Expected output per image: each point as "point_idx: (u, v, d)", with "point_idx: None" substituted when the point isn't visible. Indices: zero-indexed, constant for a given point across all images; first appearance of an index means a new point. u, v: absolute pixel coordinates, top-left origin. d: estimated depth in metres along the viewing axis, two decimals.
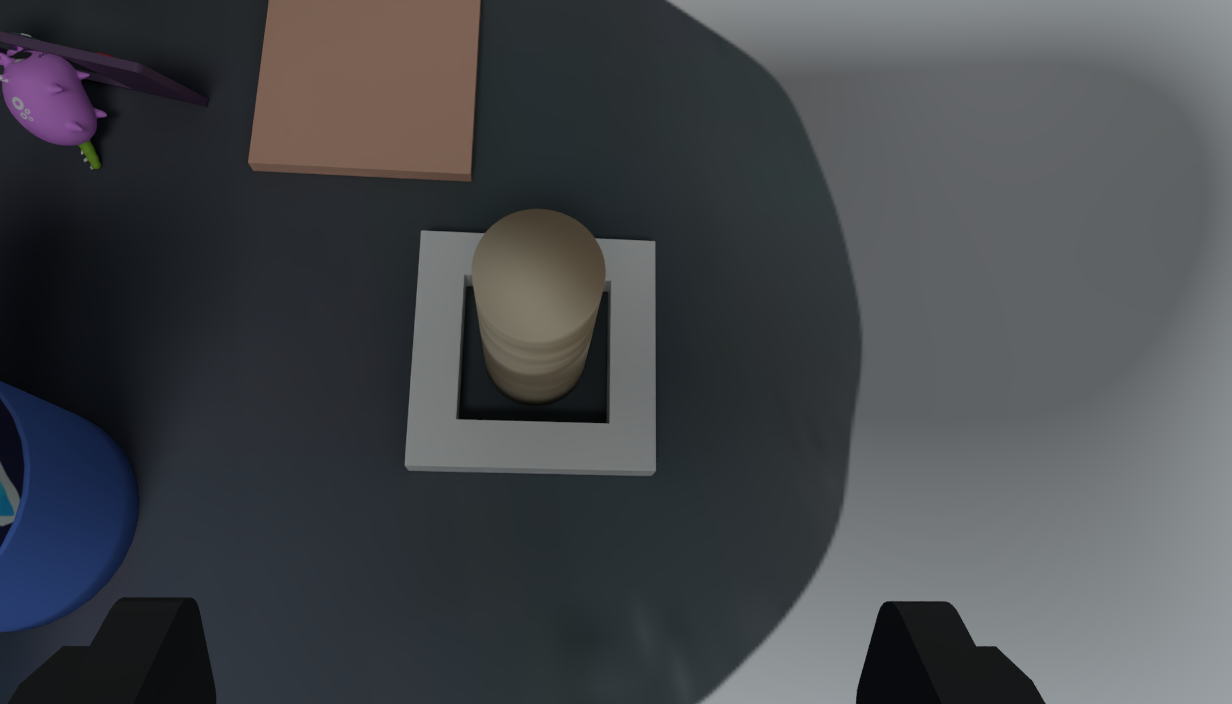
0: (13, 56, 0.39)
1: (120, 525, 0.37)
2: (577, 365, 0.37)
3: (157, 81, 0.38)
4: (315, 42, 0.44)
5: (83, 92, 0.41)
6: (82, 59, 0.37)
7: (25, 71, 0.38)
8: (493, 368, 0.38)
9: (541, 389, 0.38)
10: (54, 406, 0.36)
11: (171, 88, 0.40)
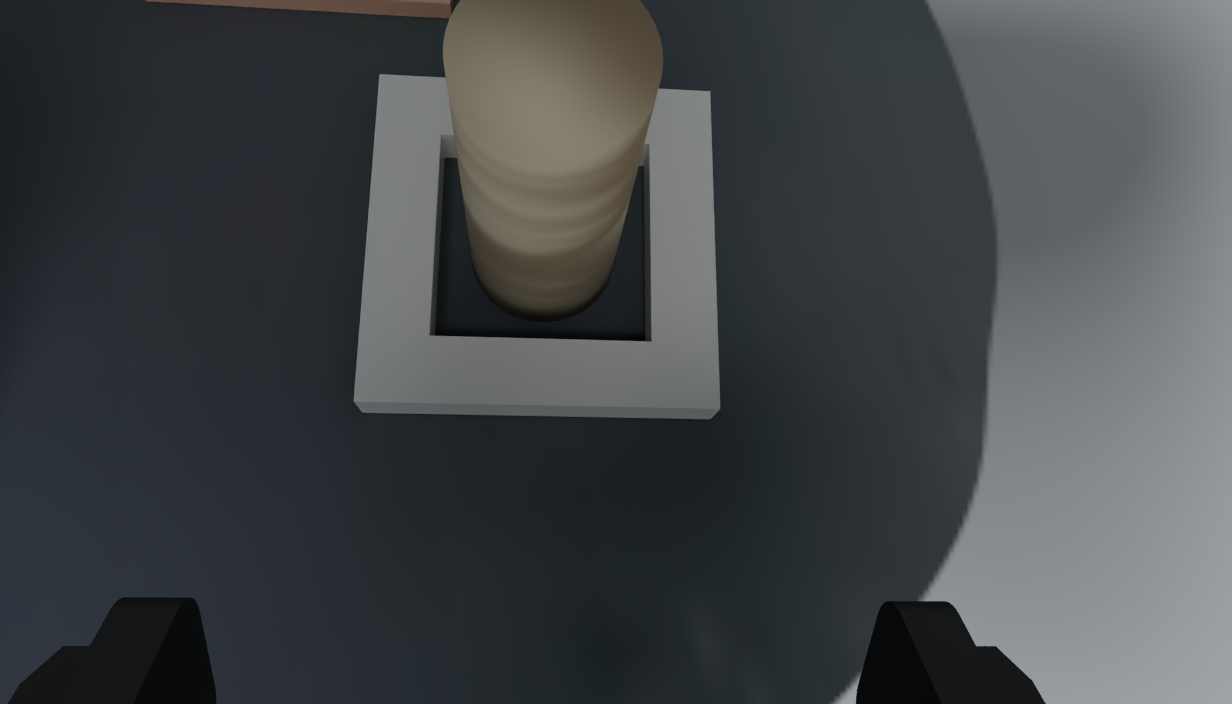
0: None
1: None
2: (607, 247, 0.25)
3: None
4: None
5: None
6: None
7: None
8: (483, 255, 0.26)
9: (554, 287, 0.26)
10: None
11: None
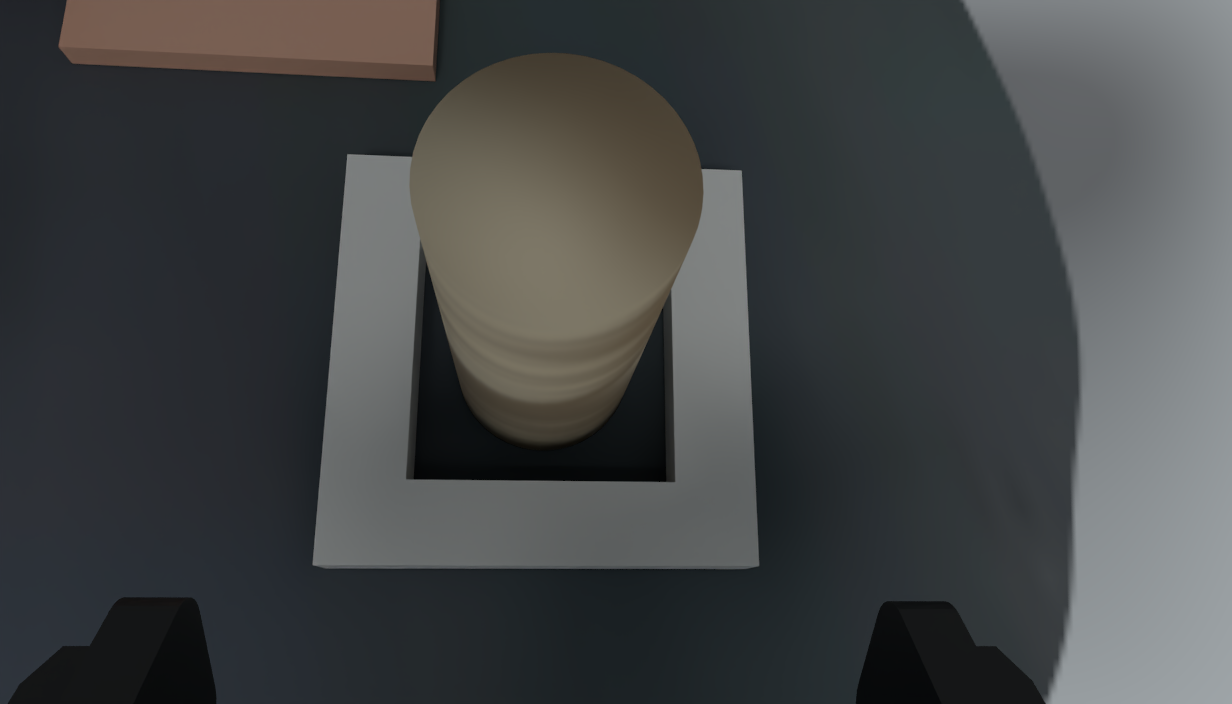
0: None
1: None
2: (623, 382, 0.20)
3: None
4: None
5: None
6: None
7: None
8: (470, 389, 0.21)
9: (557, 426, 0.21)
10: None
11: None
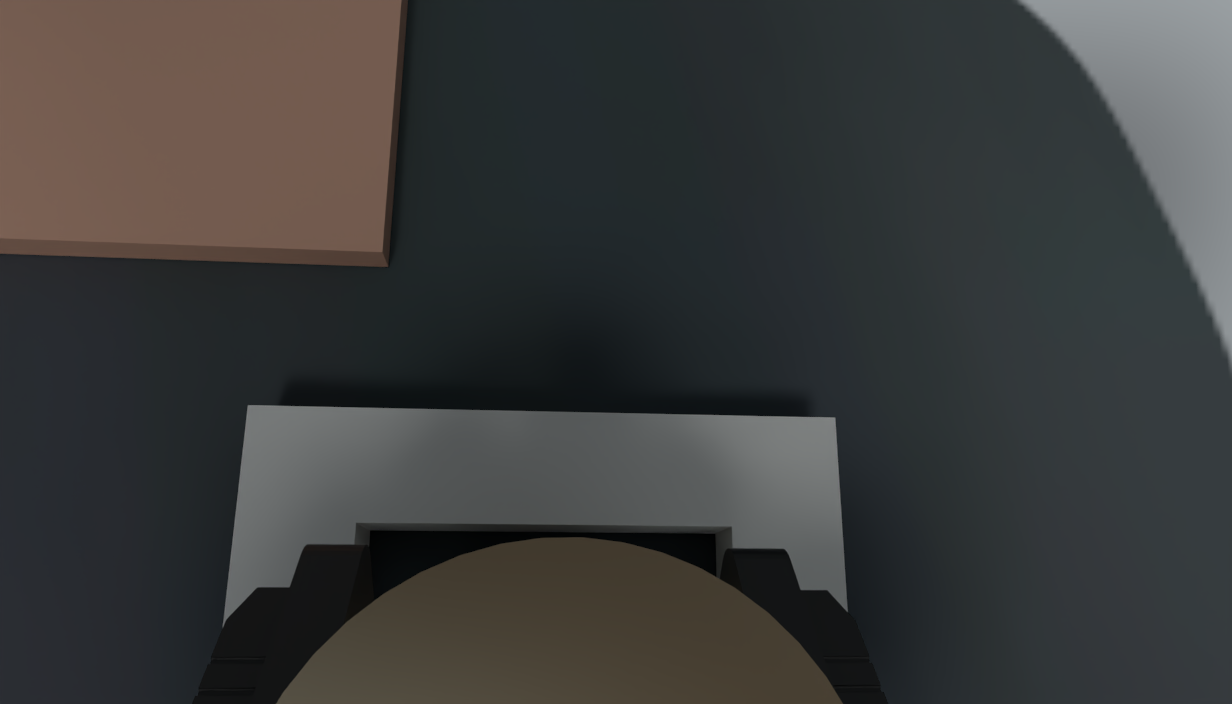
0: None
1: None
2: None
3: None
4: None
5: None
6: None
7: None
8: None
9: None
10: None
11: None
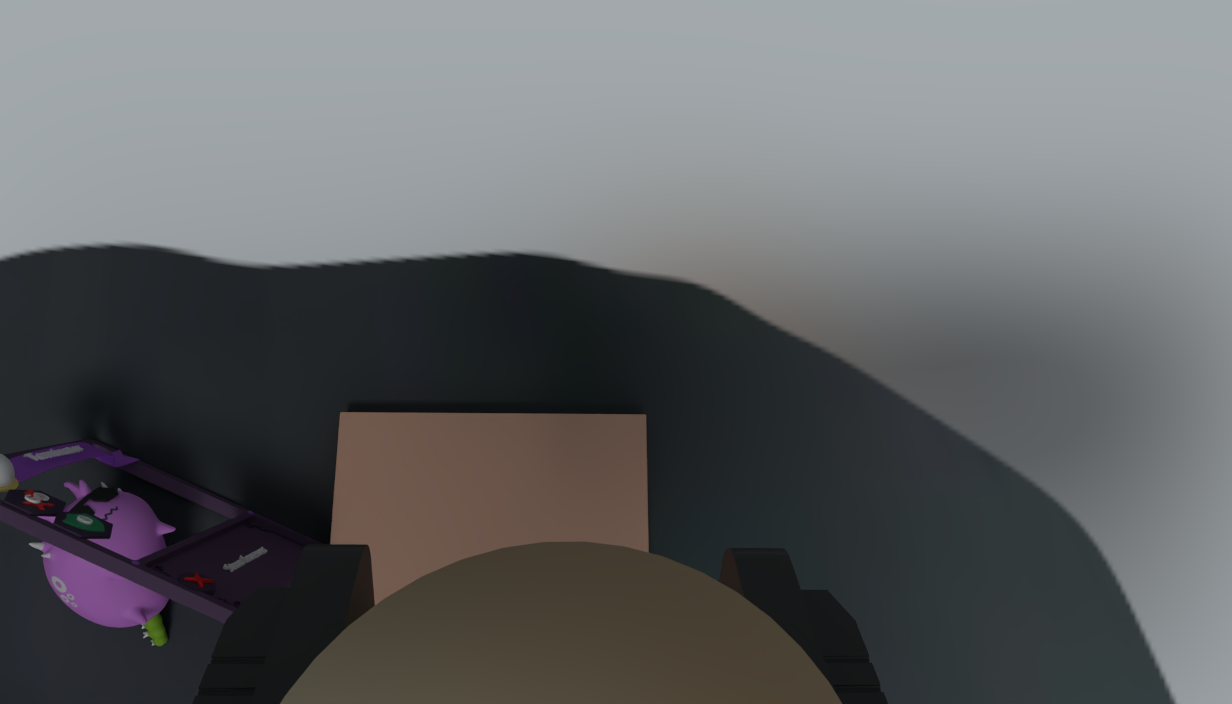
0: None
1: None
2: None
3: None
4: (407, 522, 0.29)
5: None
6: (157, 590, 0.23)
7: None
8: None
9: None
10: None
11: None
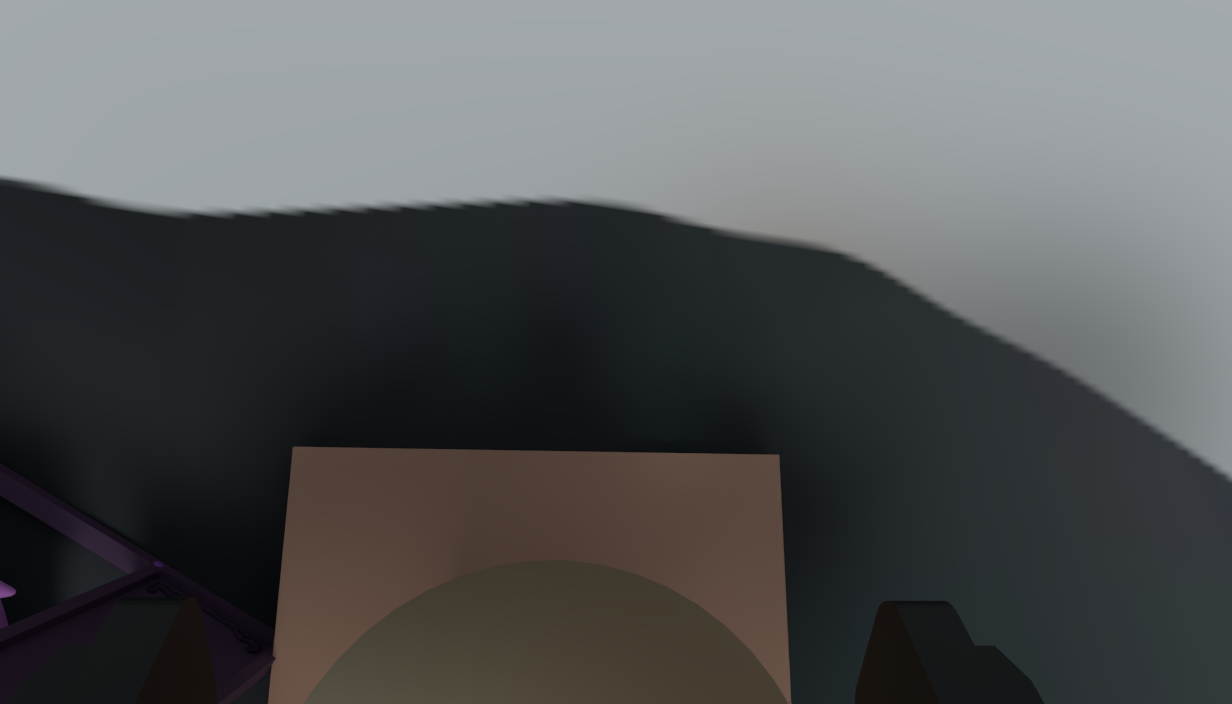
0: None
1: None
2: None
3: None
4: None
5: None
6: None
7: None
8: None
9: None
10: None
11: None
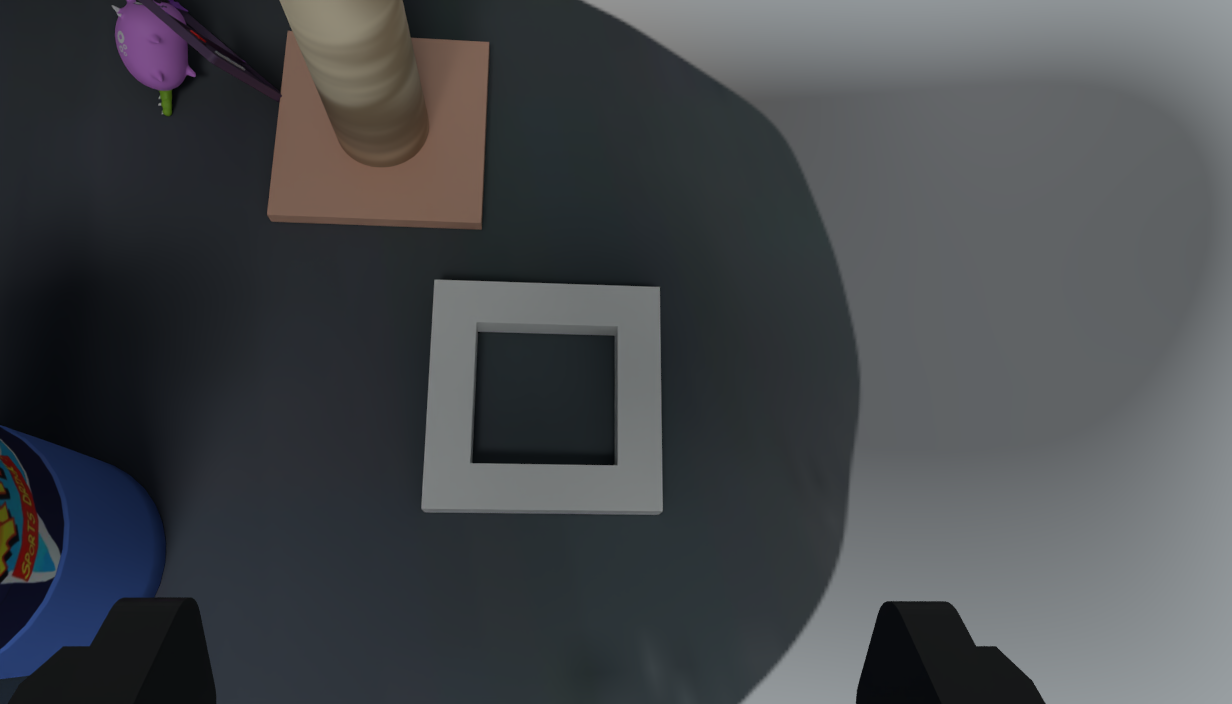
0: None
1: (149, 570, 0.38)
2: (403, 107, 0.41)
3: (231, 73, 0.41)
4: None
5: (182, 50, 0.44)
6: (174, 30, 0.40)
7: (137, 15, 0.42)
8: (329, 114, 0.41)
9: (374, 135, 0.42)
10: (86, 457, 0.37)
11: (246, 82, 0.42)
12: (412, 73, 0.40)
